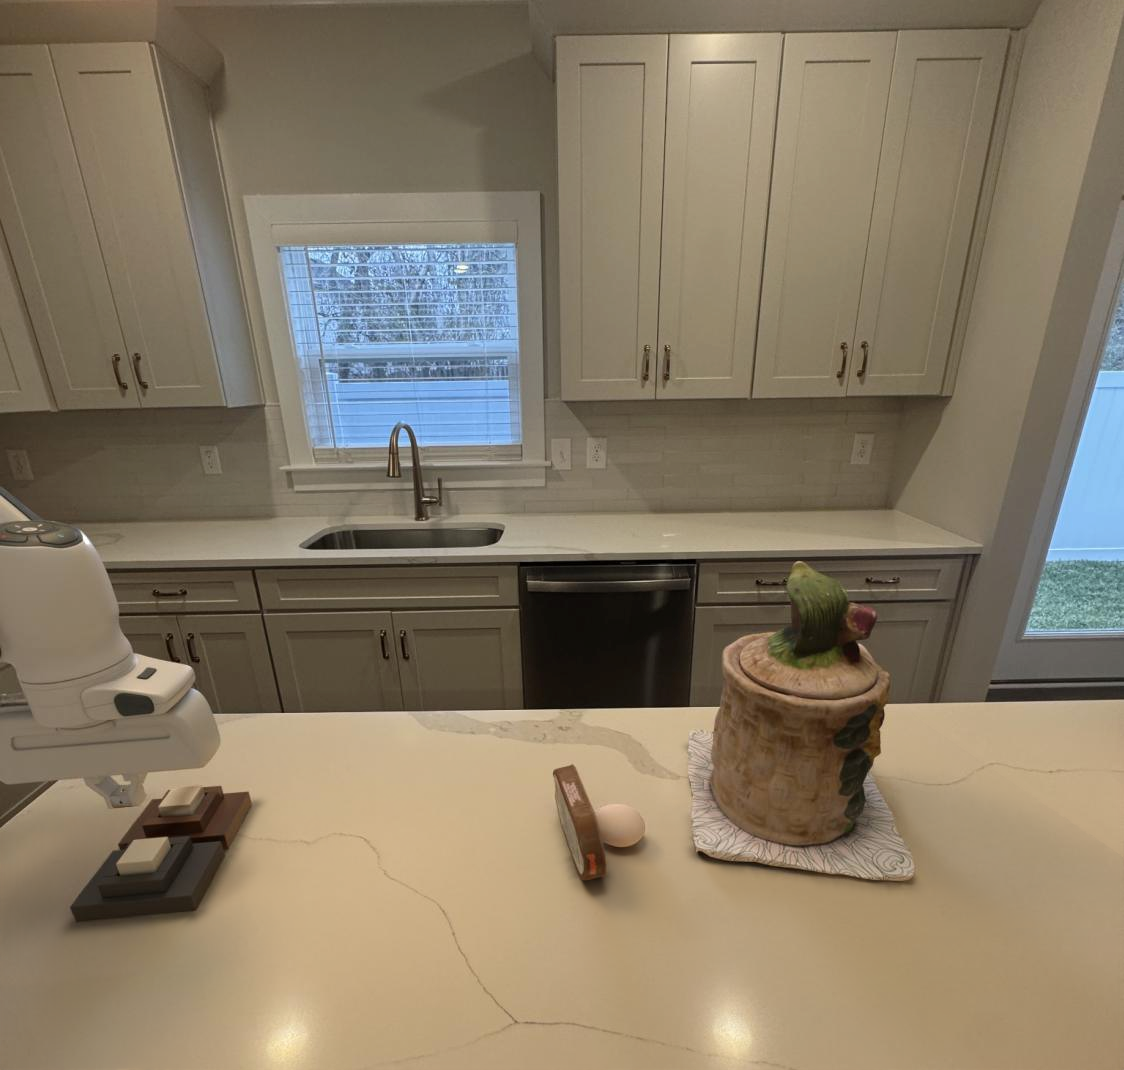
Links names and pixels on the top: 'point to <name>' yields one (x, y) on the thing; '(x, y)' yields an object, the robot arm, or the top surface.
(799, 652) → the cookie jar
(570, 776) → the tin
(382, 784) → the top surface
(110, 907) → the dark grey stepped block
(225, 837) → the brown push button base
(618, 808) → the egg
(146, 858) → the key
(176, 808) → the key
